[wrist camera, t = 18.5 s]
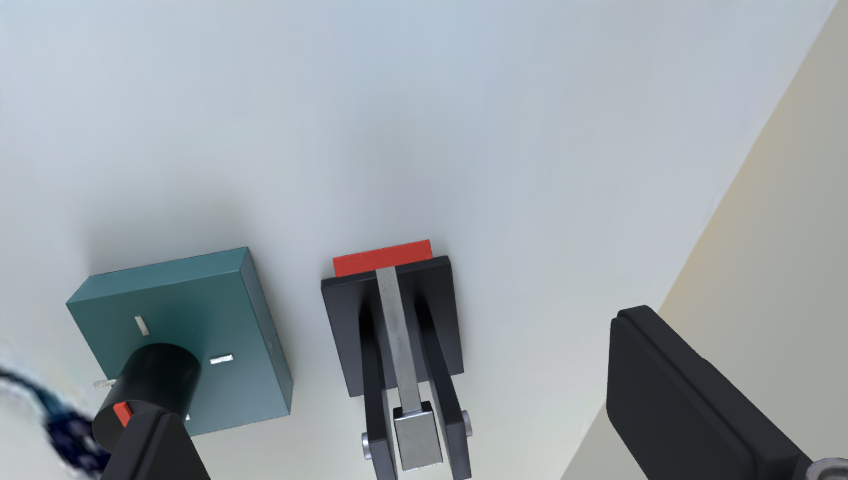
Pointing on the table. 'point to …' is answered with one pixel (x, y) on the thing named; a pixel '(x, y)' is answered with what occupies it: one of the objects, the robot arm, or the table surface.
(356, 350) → the black upright frame
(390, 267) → the toaster lever
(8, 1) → the table surface
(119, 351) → the dial panel
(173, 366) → the knob
